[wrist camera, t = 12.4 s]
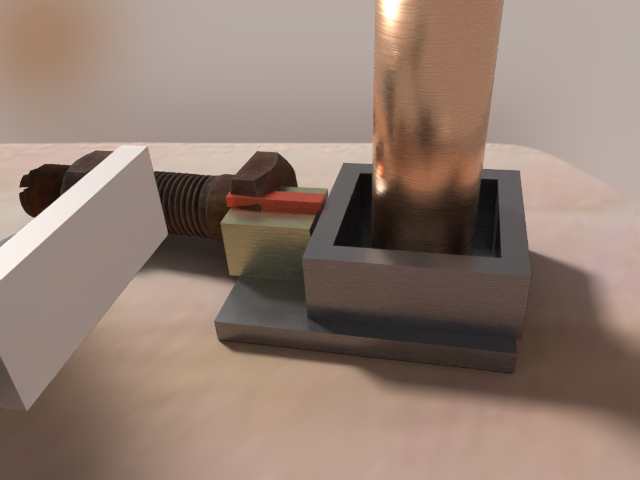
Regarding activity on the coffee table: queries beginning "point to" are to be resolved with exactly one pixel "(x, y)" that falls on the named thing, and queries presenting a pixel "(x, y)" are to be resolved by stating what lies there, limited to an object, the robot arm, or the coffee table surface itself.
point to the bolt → (171, 190)
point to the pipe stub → (431, 121)
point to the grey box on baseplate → (375, 277)
